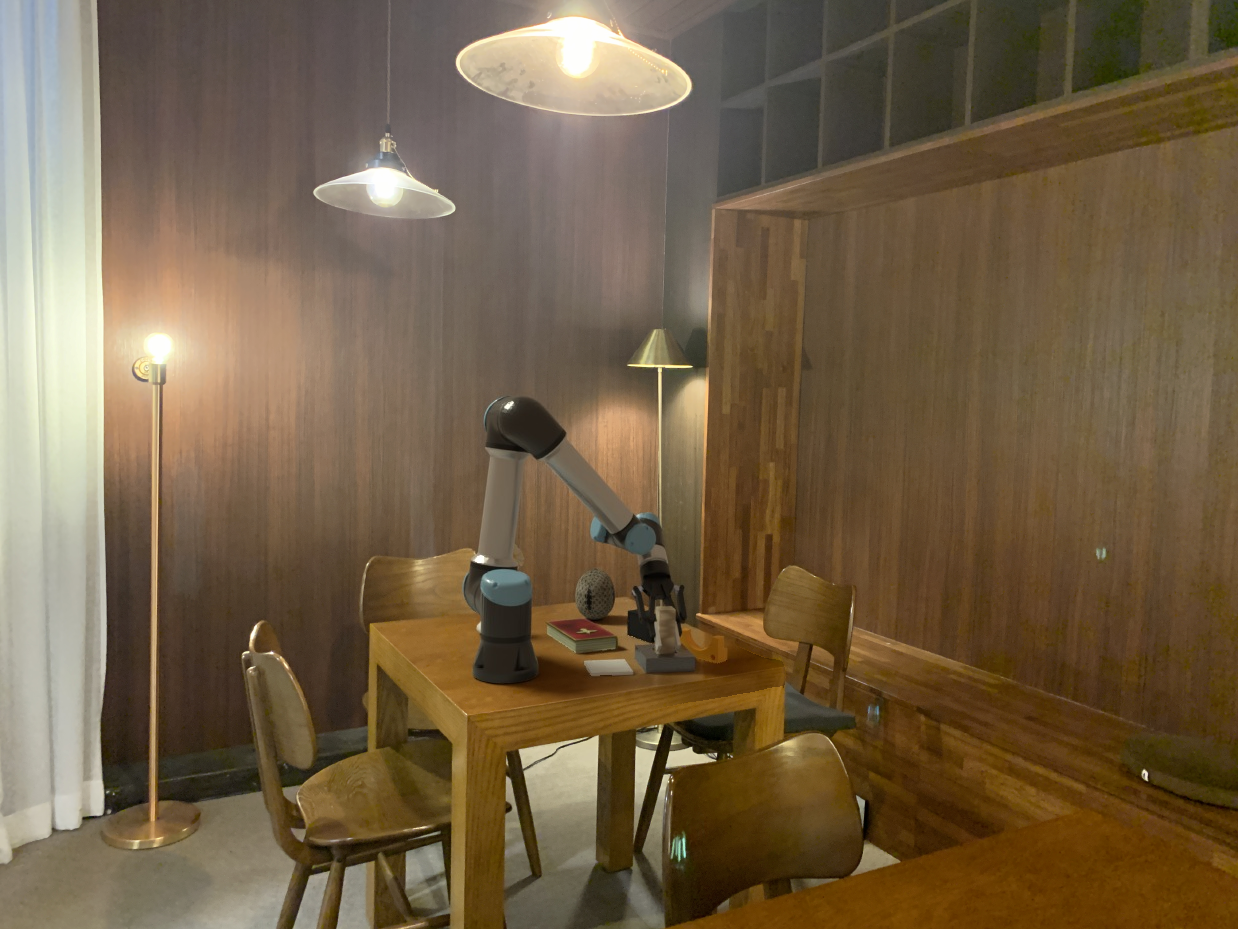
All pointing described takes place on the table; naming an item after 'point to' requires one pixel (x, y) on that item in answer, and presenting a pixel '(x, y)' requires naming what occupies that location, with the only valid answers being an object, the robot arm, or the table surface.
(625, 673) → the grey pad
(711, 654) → the pipe clamp
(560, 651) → the table surface
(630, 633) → the black rectangular block
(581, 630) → the hardcover book
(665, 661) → the socket block
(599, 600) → the decorative egg
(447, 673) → the table surface
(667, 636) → the birch peg
